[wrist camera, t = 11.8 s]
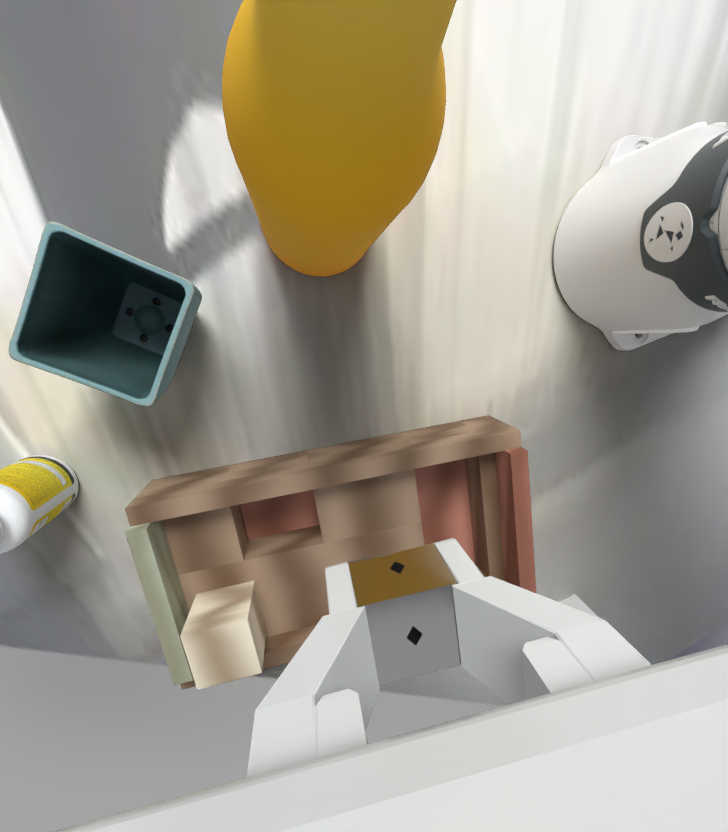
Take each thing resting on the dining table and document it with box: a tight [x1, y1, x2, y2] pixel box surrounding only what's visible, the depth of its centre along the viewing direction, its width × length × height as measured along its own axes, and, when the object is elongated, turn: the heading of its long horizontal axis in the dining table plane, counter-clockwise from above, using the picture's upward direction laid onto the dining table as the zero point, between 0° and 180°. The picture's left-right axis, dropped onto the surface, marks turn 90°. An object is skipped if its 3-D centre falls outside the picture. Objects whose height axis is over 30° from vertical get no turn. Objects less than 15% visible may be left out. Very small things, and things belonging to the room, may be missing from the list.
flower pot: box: [9, 222, 202, 407], centre depth 30 cm, size 9×9×9 cm
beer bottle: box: [222, 0, 456, 277], centre depth 20 cm, size 9×9×29 cm
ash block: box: [180, 580, 267, 690], centre depth 34 cm, size 5×5×5 cm
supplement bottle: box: [0, 455, 78, 554], centre depth 31 cm, size 5×5×10 cm
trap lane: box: [125, 415, 536, 689], centre depth 37 cm, size 32×17×7 cm, turn 99°
